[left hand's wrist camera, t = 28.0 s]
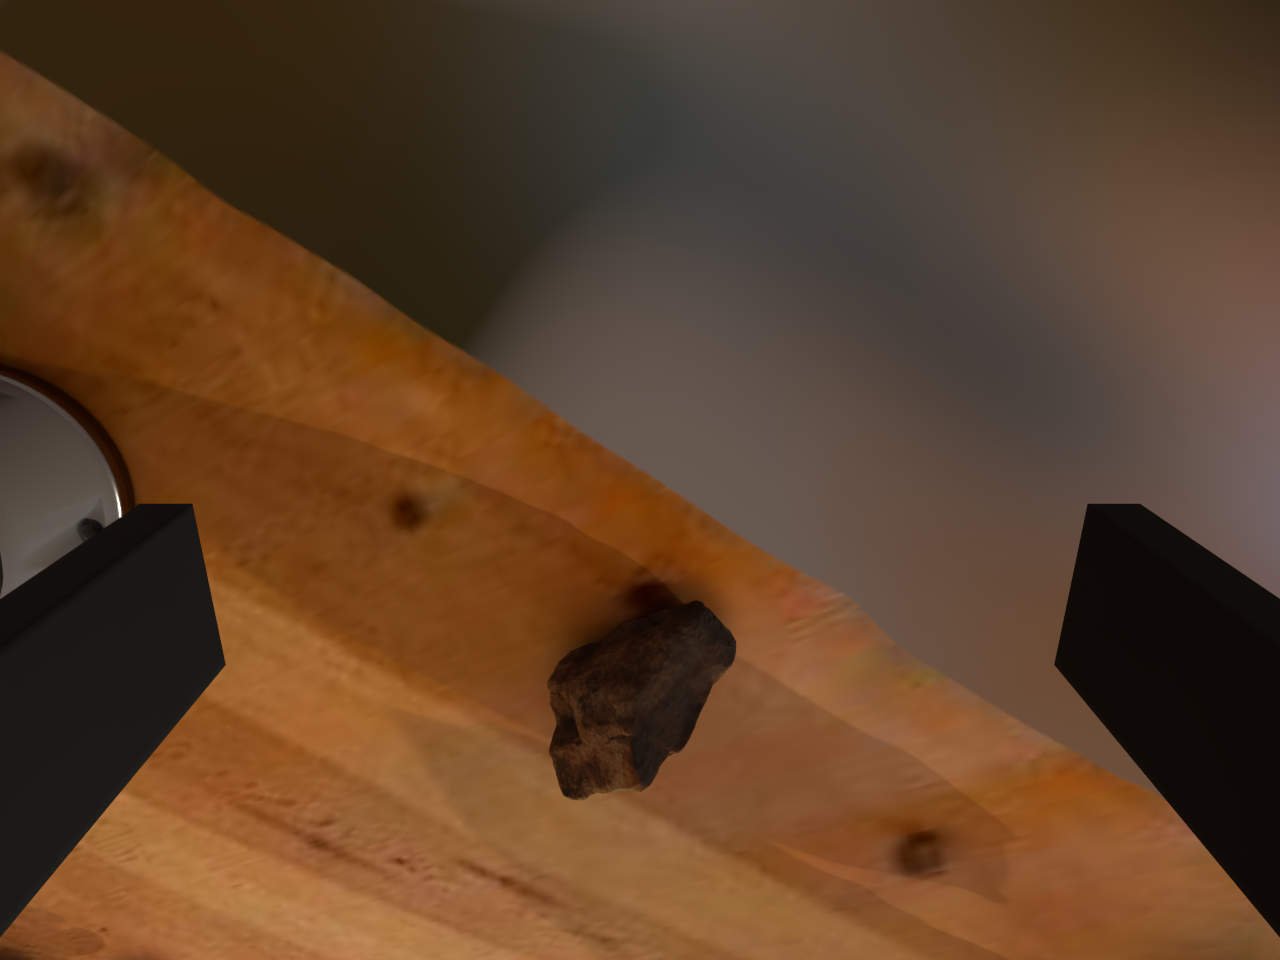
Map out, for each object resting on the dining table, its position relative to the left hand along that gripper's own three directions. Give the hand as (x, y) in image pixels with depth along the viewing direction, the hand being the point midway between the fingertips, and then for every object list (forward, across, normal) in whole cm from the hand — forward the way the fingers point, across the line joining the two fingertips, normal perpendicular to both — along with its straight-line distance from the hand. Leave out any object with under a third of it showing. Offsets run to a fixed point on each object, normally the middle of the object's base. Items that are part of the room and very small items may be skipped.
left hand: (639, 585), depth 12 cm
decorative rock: (+35, 0, -24) cm, 42 cm away
